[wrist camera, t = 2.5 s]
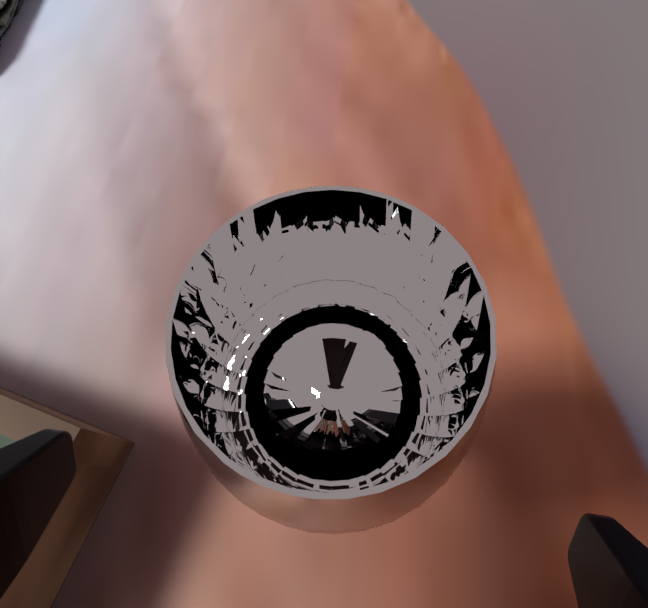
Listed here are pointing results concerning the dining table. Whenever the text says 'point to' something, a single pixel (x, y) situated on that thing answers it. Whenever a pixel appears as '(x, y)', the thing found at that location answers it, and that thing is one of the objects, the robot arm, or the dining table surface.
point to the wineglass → (331, 357)
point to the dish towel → (8, 13)
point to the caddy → (75, 508)
